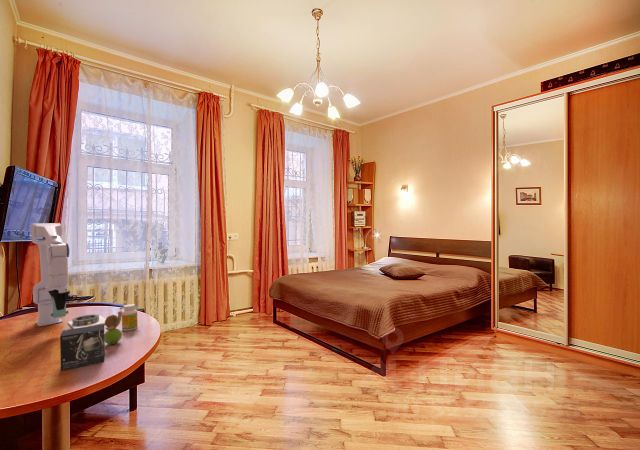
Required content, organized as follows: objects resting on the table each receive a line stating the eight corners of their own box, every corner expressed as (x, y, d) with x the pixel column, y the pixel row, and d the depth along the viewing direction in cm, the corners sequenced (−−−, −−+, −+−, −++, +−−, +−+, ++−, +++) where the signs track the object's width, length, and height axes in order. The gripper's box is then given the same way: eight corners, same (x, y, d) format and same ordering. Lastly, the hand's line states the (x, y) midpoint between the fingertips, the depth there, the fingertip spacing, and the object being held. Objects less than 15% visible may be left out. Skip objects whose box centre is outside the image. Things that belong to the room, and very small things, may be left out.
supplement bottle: (130, 331, 123) (129, 307, 123) (118, 330, 124) (118, 306, 124) (140, 327, 129) (140, 303, 128) (129, 326, 130) (129, 303, 130)
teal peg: (49, 316, 122) (49, 296, 122) (67, 313, 126) (66, 293, 126) (51, 318, 119) (50, 297, 119) (69, 315, 123) (68, 295, 123)
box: (59, 371, 90) (59, 336, 90) (63, 363, 95) (62, 329, 95) (104, 362, 96) (103, 328, 96) (105, 355, 101) (104, 323, 101)
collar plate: (67, 323, 135) (67, 317, 135) (100, 316, 144) (100, 310, 144) (75, 330, 125) (75, 324, 125) (110, 323, 134) (110, 316, 134)
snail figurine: (127, 340, 113) (127, 308, 113) (111, 347, 107) (110, 313, 107) (117, 339, 115) (116, 307, 115) (99, 345, 109) (99, 311, 109)
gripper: (42, 273, 124) (43, 307, 124) (48, 277, 114) (49, 314, 114) (64, 271, 129) (65, 304, 129) (72, 275, 120) (73, 310, 120)
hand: (59, 308), depth 122 cm, fingers closed on teal peg, 4 cm apart
